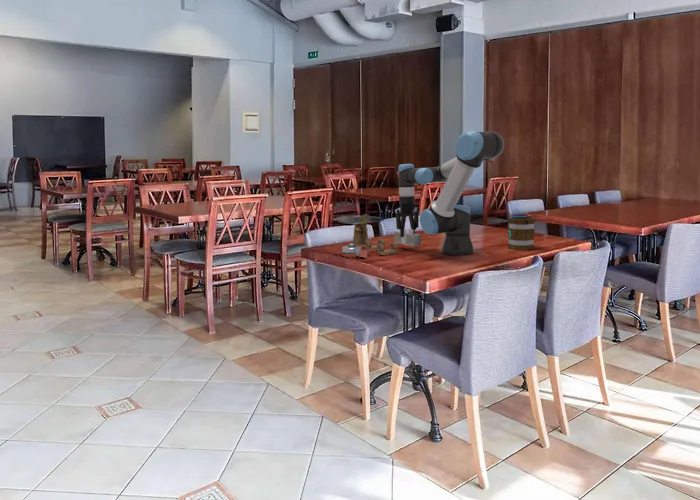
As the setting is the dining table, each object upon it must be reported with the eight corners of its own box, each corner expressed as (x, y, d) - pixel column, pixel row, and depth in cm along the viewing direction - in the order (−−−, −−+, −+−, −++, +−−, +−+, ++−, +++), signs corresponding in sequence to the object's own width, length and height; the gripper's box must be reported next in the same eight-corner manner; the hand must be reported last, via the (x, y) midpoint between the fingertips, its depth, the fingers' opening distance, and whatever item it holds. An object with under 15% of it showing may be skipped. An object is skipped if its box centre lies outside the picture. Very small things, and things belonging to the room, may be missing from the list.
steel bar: (420, 245, 316) (420, 234, 315) (413, 246, 314) (413, 235, 313) (401, 241, 331) (401, 230, 330) (394, 242, 329) (394, 231, 328)
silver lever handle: (339, 252, 313) (339, 243, 312) (355, 251, 317) (355, 241, 316) (355, 258, 298) (355, 248, 298) (372, 256, 302) (372, 246, 302)
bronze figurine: (357, 249, 325) (357, 214, 322) (349, 245, 338) (349, 211, 335) (374, 248, 328) (374, 213, 325) (366, 244, 340) (365, 210, 337)
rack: (397, 254, 311) (397, 243, 311) (381, 256, 307) (381, 245, 306) (380, 249, 325) (380, 239, 324) (364, 251, 321) (364, 241, 320)
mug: (539, 249, 316) (540, 219, 313) (512, 251, 314) (513, 220, 311) (523, 243, 335) (524, 214, 332) (498, 244, 333) (499, 215, 330)
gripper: (417, 194, 326) (418, 240, 329) (387, 196, 318) (389, 243, 321) (425, 194, 319) (426, 242, 323) (396, 197, 311) (397, 245, 315)
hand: (408, 242), depth 322 cm, fingers closed on steel bar, 4 cm apart
